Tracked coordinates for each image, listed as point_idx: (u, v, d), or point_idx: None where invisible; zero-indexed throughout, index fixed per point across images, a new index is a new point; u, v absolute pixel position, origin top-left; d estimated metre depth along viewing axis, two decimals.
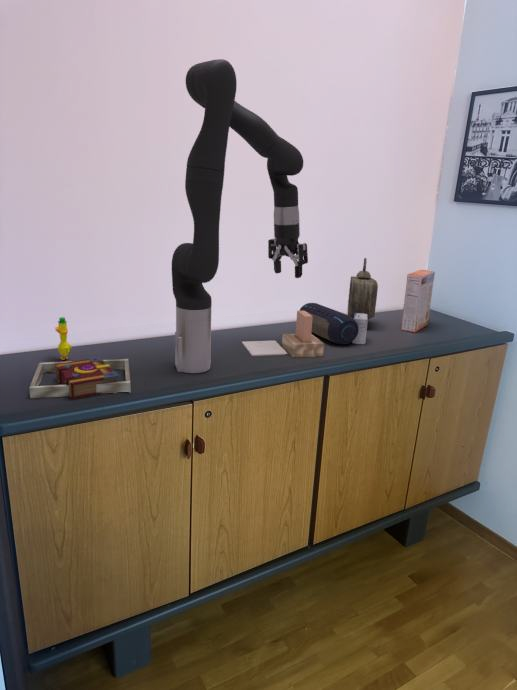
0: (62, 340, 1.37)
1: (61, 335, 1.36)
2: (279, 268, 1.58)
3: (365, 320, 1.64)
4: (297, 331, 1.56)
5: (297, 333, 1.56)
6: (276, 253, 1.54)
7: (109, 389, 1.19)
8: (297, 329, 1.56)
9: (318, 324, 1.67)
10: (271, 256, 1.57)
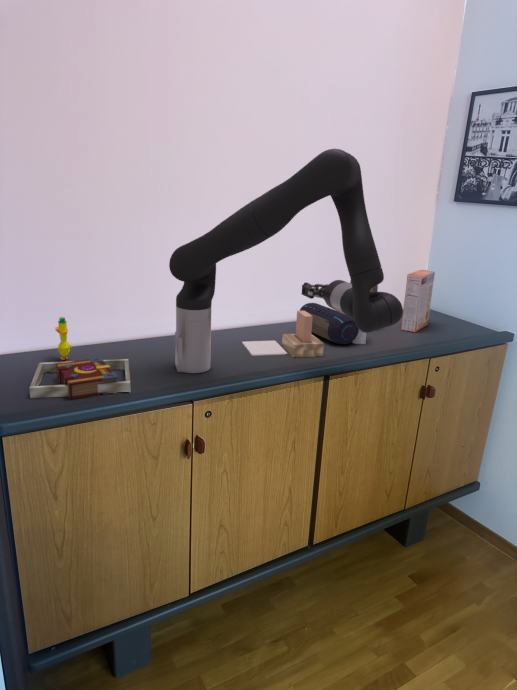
0: (62, 340, 1.37)
1: (61, 335, 1.36)
2: None
3: None
4: (297, 331, 1.56)
5: (297, 333, 1.56)
6: None
7: (109, 389, 1.19)
8: (297, 329, 1.56)
9: (318, 324, 1.67)
10: None
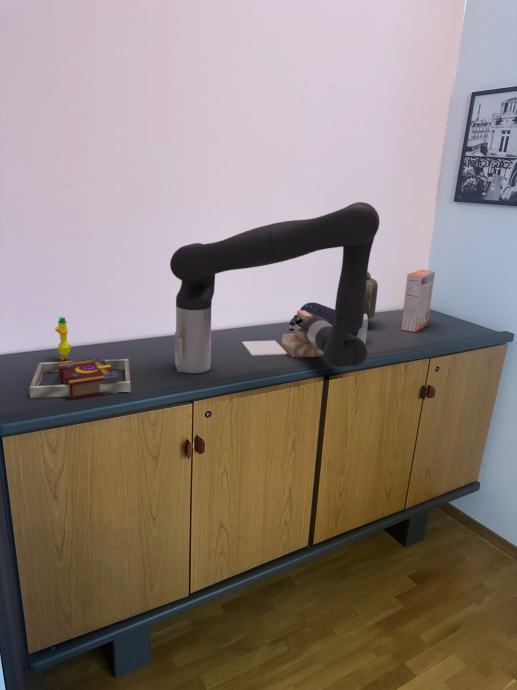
0: (62, 340, 1.37)
1: (61, 335, 1.36)
2: None
3: (365, 320, 1.64)
4: (297, 331, 1.56)
5: (297, 333, 1.56)
6: None
7: (109, 389, 1.19)
8: None
9: None
10: None
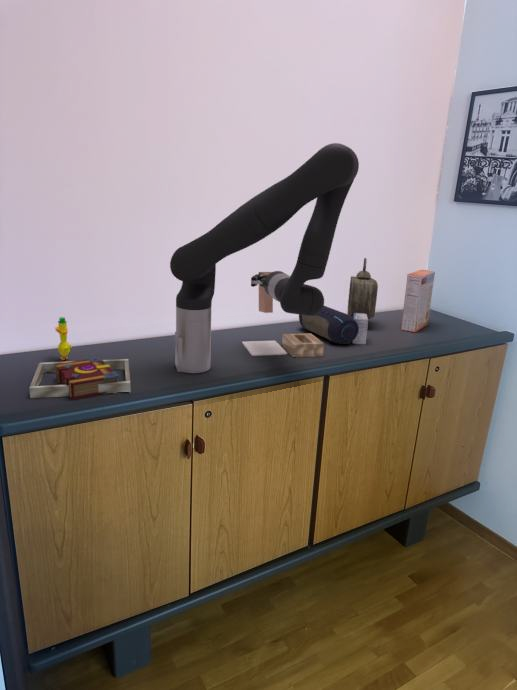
0: (62, 340, 1.37)
1: (61, 335, 1.36)
2: None
3: (366, 320, 1.64)
4: (260, 292, 1.55)
5: (260, 294, 1.55)
6: None
7: (109, 389, 1.19)
8: (260, 289, 1.55)
9: (318, 324, 1.68)
10: None
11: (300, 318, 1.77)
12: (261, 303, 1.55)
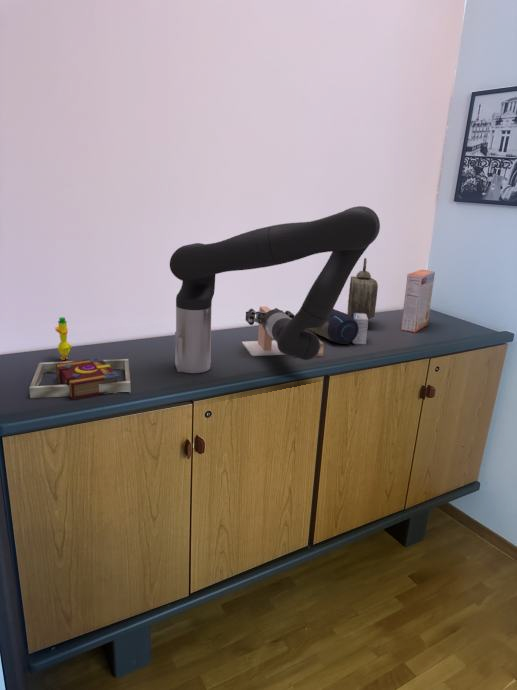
0: (62, 340, 1.37)
1: (61, 335, 1.36)
2: None
3: (366, 320, 1.64)
4: (260, 327, 1.57)
5: (260, 329, 1.57)
6: None
7: (109, 389, 1.19)
8: (260, 324, 1.57)
9: None
10: (285, 312, 1.53)
11: None
12: (260, 338, 1.57)
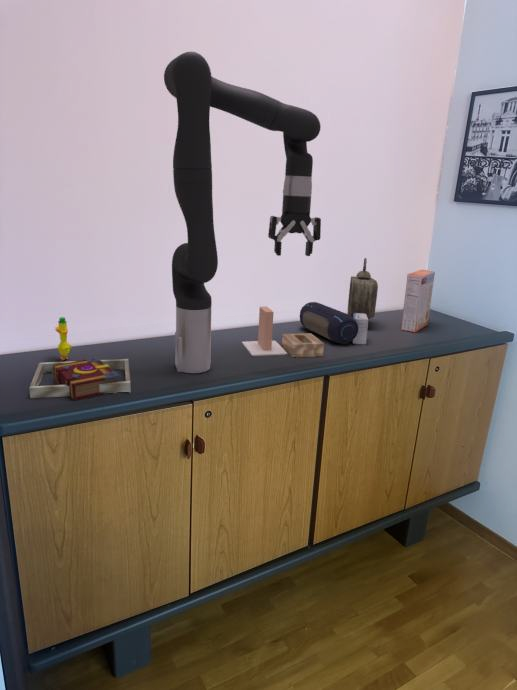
0: (62, 340, 1.37)
1: (61, 335, 1.36)
2: None
3: (366, 320, 1.64)
4: (260, 327, 1.57)
5: (260, 329, 1.57)
6: (286, 231, 1.36)
7: (109, 389, 1.19)
8: (260, 324, 1.57)
9: (318, 323, 1.68)
10: (274, 236, 1.36)
11: (301, 317, 1.78)
12: (260, 338, 1.57)
